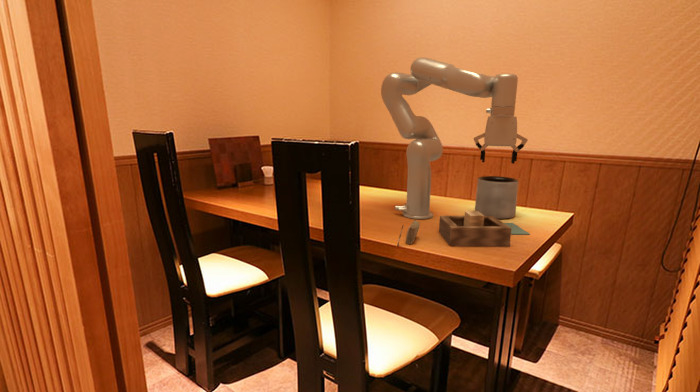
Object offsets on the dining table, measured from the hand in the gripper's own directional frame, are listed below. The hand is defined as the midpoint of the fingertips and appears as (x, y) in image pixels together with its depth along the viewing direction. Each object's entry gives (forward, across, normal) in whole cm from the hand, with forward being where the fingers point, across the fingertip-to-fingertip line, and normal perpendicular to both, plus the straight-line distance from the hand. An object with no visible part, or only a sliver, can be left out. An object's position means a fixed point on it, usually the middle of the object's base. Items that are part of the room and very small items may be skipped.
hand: (497, 162), depth 129 cm
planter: (+25, +3, +25) cm, 35 cm away
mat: (+25, +5, +5) cm, 26 cm away
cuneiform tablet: (+25, -27, -21) cm, 43 cm away
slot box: (+25, -7, -12) cm, 28 cm away
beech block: (+25, -7, -12) cm, 28 cm away
